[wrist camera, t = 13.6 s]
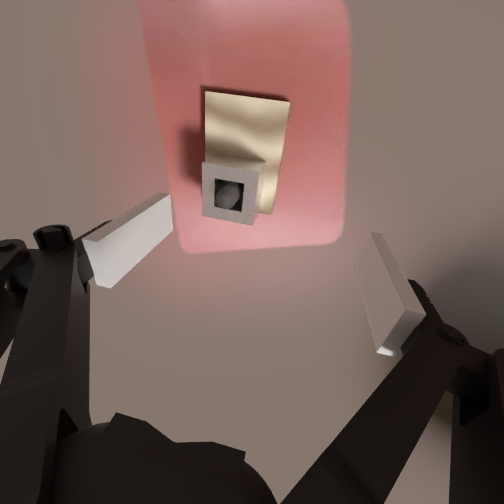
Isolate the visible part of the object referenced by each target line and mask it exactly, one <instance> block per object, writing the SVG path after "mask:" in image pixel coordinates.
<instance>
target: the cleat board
mask: <svg viewBox="0 0 504 504" xmlns="http://www.w3.org/2000/svg"><path fill="white" fill-rule="evenodd" d="M290 104H291V102H285V101H277V100H270V99H262V98H254V97H247V96H239V95H232V94H224V93H217V92H209V91H205V160H207V159H209V158H211V157H212V156H214V155H216V154H222V155H229V156H235V157H241V158H247V159H253V160H259V161H265V162H267V163H266V171H265V178H264V185H263V192H262V200H261V207H260V211H259V213H262V214H268V215H271V214H272V210H273V204H274V199H275V193H276V187H277V181H278V175H279V169H280V163H281V157H282V151H283V145H284V139H285V133H286V127H287V121H288V115H289V109H290ZM243 193H244V183H239V182H233V181H227V184H226V185H225V186H224V187H223V188H222V189H221V190H220V191H219V192H218V193H217V195H216V203H217V205H218V206H219V207H220V208H222V209H230V208H232V207H233V206H234V204H235V203H236V202H237V200H238V199H239V198H240V196H243Z"/></svg>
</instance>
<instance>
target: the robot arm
mask: <svg viewBox="0 0 504 504" xmlns="http://www.w3.org/2000/svg"><path fill="white" fill-rule="evenodd" d="M172 230H173V225H172V213H171V201H170V194H166V193H161V192H159V193H157V194H155V195H154V196H152V197H151V198H149V199H147V200H145V201H144V202H142V203H140V204H139V205H137V206H135V207H134V208H132V209H130V210H129V211H127V212H126V213H124V214H122V215H120V216H119V217H117V218H116V219H113V220H110V221H107V222H104V223H102V224H101V225H99V226H98V227H97V228H94V229H92V230H91V231H89V232H87V233H86V234H84V235H82V236H80V237H79V238H77V239H75V240H73V237H72V235H71V232H70V229H69V227H68V226H66V225H50V226H45V227H42V228H39V229H38V230H36V231H35V232H34V233H33V235H34V238H35V240H36V242H37V244H38V246H39V249H27V247H26V245H25V243H24V241H22V240H19V239H10V240H7V239H6V240H3V241H0V358H1V357H2V355H3V354H4V352H5V351H6V349H7V347H8V346H9V344H10V343H11V341H12V340H13V338H14V340H13V344H12V347H11V350H10V353H9V357H8V360H7V364H6V367H5V371H4V374H3V377H2V381H1V384H0V504H277V502H276V500H275V498H274V496H273V494H272V492H271V490H270V488H269V487H268V486H267V484H266V482H265V481H264V480H263V478H262V477H261V476H260V475H259V473H258V472H256V470H255V469H253V468H252V467H251V466H250V465H249V464H247V463H246V462H245V461H244V458H245V453H246V452H244V451H241V450H238V449H234V448H232V447H228V446H225V445H222V444H218V443H215V442H186V443H185V442H183V443H176V442H173V441H171V440H170V439H169V438H167V437H166V436H165V435H163V434H162V433H161V432H159V431H158V430H157V429H155V428H154V427H153V426H151V425H150V424H149V423H147V422H146V421H143V420H139V419H136V418H133V417H129V416H126V415H123V414H120V413H115V415H114V416H113V418H112V420H111V421H110V422H106V423H100V424H96V425H92V423H91V419H90V413H89V355H90V354H89V351H90V349H89V348H90V344H89V343H90V285H89V282H88V280H90V279H91V278H92V277H93V276H94V278H95V281H96V284H97V285H99V286H103V287H107V288H111V287H112V286H114V284H116V283H117V282H118V281H119V280H120V279H121V278H122V277H123V276H124V275H125V274H126V273H127V272H129V271H130V270H131V269H132V268H133V267H134V266H135V265H136V264H137V263H138V262H139V261H140V260H141V259H142V258H143V257H145V256H146V255H147V254H148V253H149V252H150V251H151V250H152V249H153V248H154V247H155V246H156V245H157V244H158V243H160V241H162V240H163V239H164V238H165V237H166V236H167V235H168V234H169V233H170V232H171V231H172ZM354 269H355V272H356V276H357V280H358V284H359V287H360V291H361V295H362V299H363V303H364V307H365V310H366V314H367V318H368V322H369V325H370V329H371V333H372V337H373V341H374V344H375V348H376V352H377V353H381V354H385V355H389V356H393V357H395V355H396V354H397V353H398V351H399V350H400V349H401V350H402V353H403V357H402V359H401V360H400V361H399V362H398V363H397V365H396V366H395V367H394V368H393V369H392V370H391V372H390V373H389V374H388V375H387V376H386V378H385V379H384V380H383V382H382V383H381V384H380V385H379V386H378V387H377V389H376V390H375V391H374V392H373V393H372V395H371V396H370V397H369V398H368V399H367V401H366V402H365V403H364V404H363V405H362V407H361V408H360V409H359V410H358V412H357V413H356V414H355V415H354V416H353V418H352V419H351V420H350V421H349V422H348V424H347V425H346V426H345V427H344V428H343V430H342V431H341V432H340V433H339V435H338V436H337V437H336V438H335V439H334V440H333V442H332V443H331V444H330V445H329V446H328V447H327V448H326V449H325V451H324V452H323V453H322V454H321V455H320V457H319V458H318V459H317V460H316V461H315V463H314V464H313V465H312V466H311V467H310V469H309V470H308V471H307V472H306V473H305V475H304V476H303V477H302V478H301V480H300V481H299V482H298V483H297V484H296V485H295V487H294V488H293V489H292V490H291V492H290V493H289V494H288V495H287V496H286V497H285V499H284V500H283V501H282V502H281V503H280V504H384V502H385V500H386V499H387V497H388V495H389V493H390V491H391V489H392V488H393V486H394V484H395V482H396V480H397V478H398V477H399V475H400V473H401V471H402V469H403V468H404V466H405V464H406V462H407V460H408V458H409V457H410V455H411V453H412V451H413V449H414V447H415V446H416V444H417V442H418V440H419V438H420V437H421V434H422V433H423V431H424V429H425V427H426V426H427V424H428V422H429V420H430V418H431V417H432V415H433V413H434V411H435V409H436V407H437V406H438V404H439V402H440V400H441V398H442V396H443V395H444V393H445V391H448V392H450V393H452V394H453V411H452V437H451V464H450V487H449V504H504V349H502V348H500V349H497V350H496V351H494V352H493V353H492V354H488V353H486V352H484V351H481V350H479V349H477V348H474V347H472V346H470V345H469V342H468V341H467V338H466V337H465V336H464V335H463V334H462V333H461V332H460V331H458V330H457V329H455V328H454V327H452V326H450V325H448V324H445V323H444V322H443V321H442V319H441V317H440V316H439V314H438V312H437V311H436V309H435V307H434V306H433V304H432V303H431V301H430V299H429V297H427V294H426V293H425V291H424V289H423V288H422V287H421V286H420V285H419V284H418V283H417V282H416V281H414V280H410V279H407V278H406V276H405V274H404V273H403V271H402V269H401V267H400V265H399V264H398V262H397V260H396V258H395V256H394V254H393V252H392V251H391V249H390V247H389V245H388V243H387V241H386V240H385V238H384V236H383V234H380V233H375V232H369V234H368V236H367V239H366V241H365V243H364V245H363V248H362V250H361V252H360V254H359V257H358V259H357V261H356V264H355V266H354ZM5 286H6V288H5Z"/></svg>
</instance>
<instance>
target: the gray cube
mask: <svg viewBox="0 0 504 504" xmlns="http://www.w3.org/2000/svg"><path fill="white" fill-rule="evenodd" d="M266 163H267V162H265V161H259V160H253V159H247V158H241V157H235V156H229V155H222V154H216V155H214V156H212V157H211V158H209V159H207V160H205V161H203V162H202V216H206V217H211V218H216V219H221V220H226V221H231V222H236V223H242V224H247V225H252V226H253V224H254V222H255V219H256V217H257V215H258V213H259V211H260V207H261V200H262V192H263V185H264V178H265V171H266ZM227 181H233V182H239V183H244V193H243V196H240V198H239V199H238V200H237V202H236V203H235V204H234V206H233V207H232V208H230V209H222V208H220V207H219V206H218V205H217V203H216V195H217V193H218V192H219V191H220V190H221V189H222V188H223V187H224V186H225V185H226V184H227Z"/></svg>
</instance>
